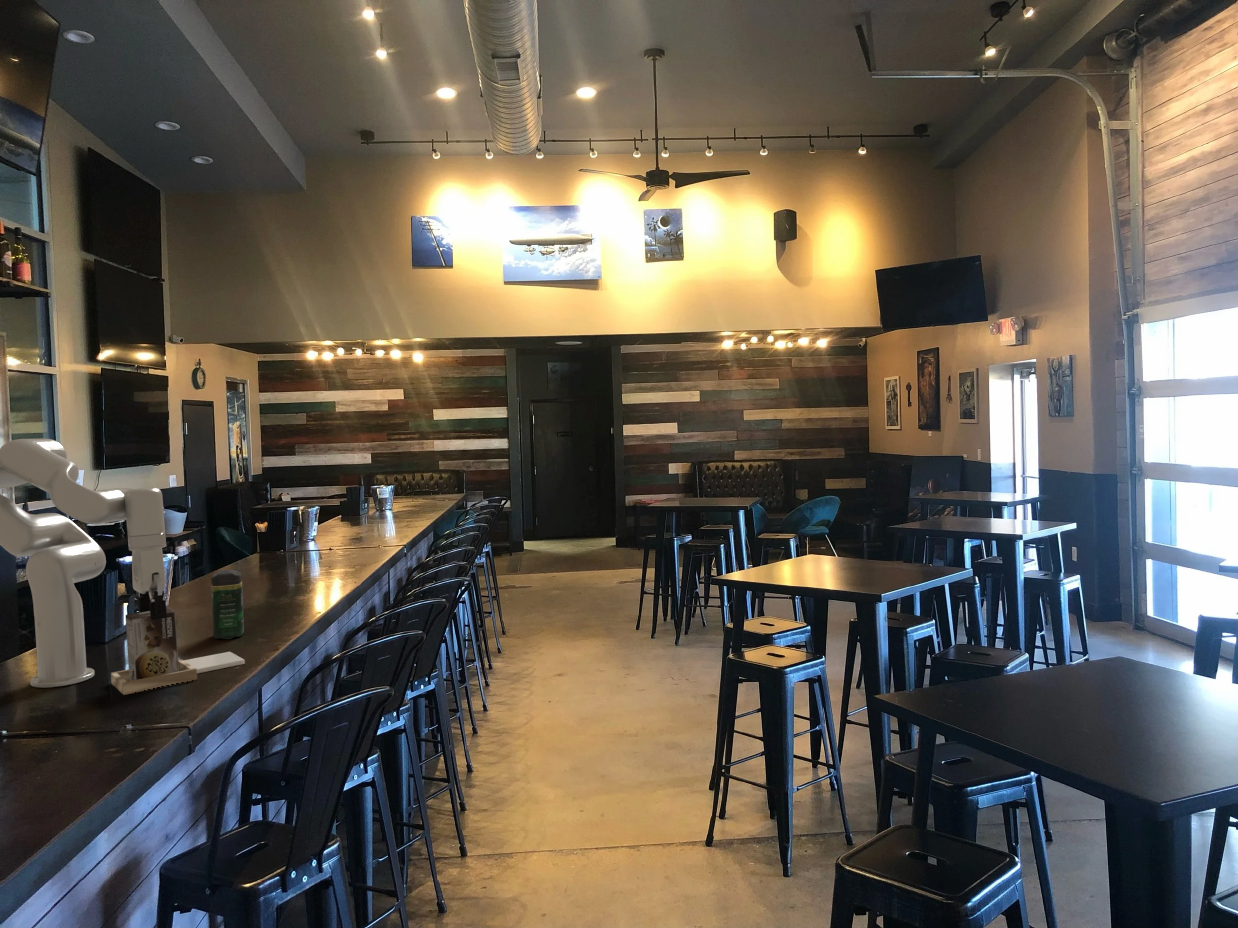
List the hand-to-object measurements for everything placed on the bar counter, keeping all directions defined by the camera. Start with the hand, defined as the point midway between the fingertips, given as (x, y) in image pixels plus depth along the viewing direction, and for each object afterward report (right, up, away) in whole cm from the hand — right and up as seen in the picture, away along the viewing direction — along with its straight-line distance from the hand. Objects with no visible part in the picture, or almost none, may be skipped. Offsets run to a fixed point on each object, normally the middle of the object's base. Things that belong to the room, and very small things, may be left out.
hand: (153, 615), depth 195 cm
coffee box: (0, -16, +1) cm, 16 cm away
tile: (+7, -14, +14) cm, 22 cm away
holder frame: (0, -15, +1) cm, 15 cm away
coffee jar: (-2, -14, +43) cm, 46 cm away
